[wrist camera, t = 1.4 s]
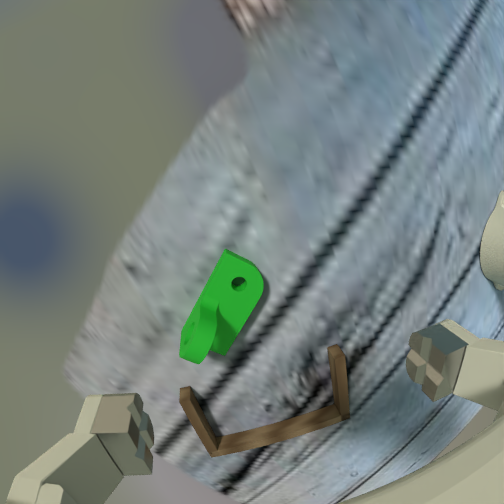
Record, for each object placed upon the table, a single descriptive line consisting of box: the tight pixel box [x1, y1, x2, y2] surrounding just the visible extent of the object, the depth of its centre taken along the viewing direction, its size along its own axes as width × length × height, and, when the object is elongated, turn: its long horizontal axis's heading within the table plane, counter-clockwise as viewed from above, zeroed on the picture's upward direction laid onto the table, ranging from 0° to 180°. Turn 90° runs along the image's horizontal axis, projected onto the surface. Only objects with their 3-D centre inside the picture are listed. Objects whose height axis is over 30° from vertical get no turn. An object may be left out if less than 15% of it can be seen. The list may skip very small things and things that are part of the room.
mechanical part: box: [179, 249, 264, 364], centre depth 35 cm, size 12×6×8 cm, turn 151°
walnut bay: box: [179, 344, 350, 457], centre depth 42 cm, size 23×14×3 cm, turn 104°
